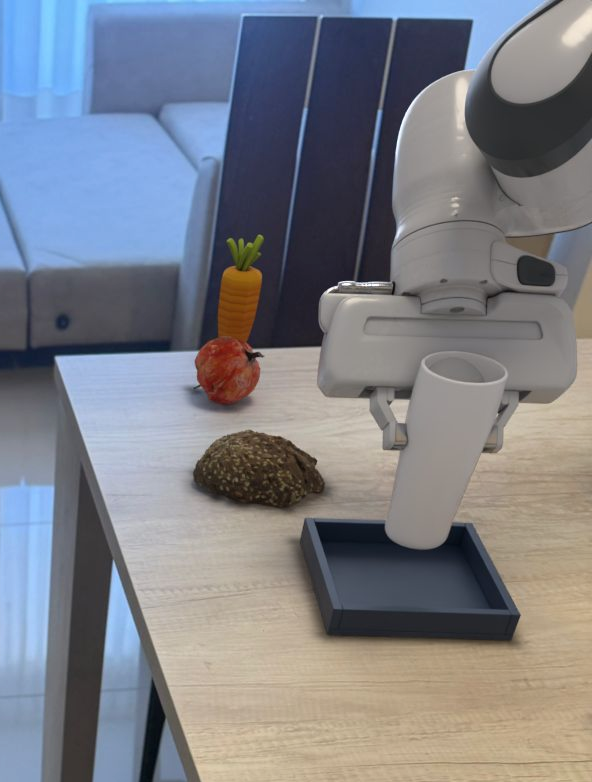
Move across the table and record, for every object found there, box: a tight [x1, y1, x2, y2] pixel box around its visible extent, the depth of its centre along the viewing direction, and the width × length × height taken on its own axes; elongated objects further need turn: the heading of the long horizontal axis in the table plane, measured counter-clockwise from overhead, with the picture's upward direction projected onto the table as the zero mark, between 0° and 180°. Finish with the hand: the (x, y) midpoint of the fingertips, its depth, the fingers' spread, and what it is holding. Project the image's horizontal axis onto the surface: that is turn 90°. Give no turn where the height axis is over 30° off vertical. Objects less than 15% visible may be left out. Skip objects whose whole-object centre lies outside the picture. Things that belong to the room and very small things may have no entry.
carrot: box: [217, 234, 265, 343], centre depth 136 cm, size 5×5×15 cm
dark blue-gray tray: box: [299, 517, 521, 642], centre depth 103 cm, size 16×16×3 cm
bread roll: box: [192, 428, 326, 509], centre depth 117 cm, size 13×12×5 cm
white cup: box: [385, 351, 508, 550], centre depth 95 cm, size 7×7×15 cm
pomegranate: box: [193, 336, 265, 406], centre depth 132 cm, size 7×7×10 cm
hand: (442, 449), depth 94 cm, fingers closed on white cup, 6 cm apart
